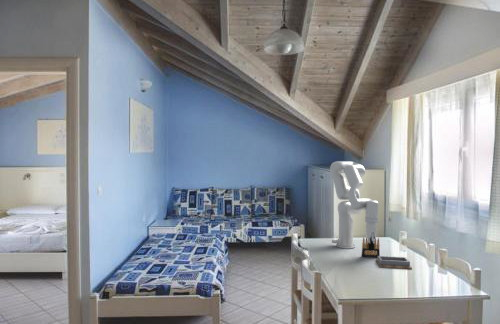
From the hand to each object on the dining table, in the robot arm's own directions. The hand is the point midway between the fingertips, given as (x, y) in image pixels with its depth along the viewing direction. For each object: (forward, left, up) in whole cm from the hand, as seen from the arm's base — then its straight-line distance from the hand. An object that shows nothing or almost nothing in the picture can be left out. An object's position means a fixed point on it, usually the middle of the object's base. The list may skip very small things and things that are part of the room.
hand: (370, 249), depth 230 cm
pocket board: (+10, -14, -5) cm, 18 cm away
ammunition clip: (0, 0, -5) cm, 5 cm away
